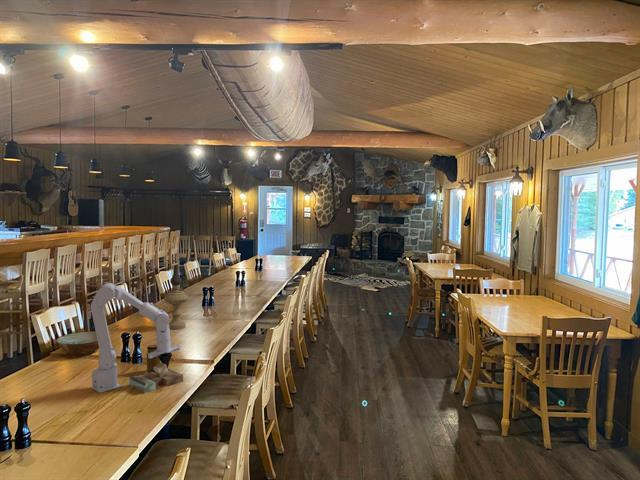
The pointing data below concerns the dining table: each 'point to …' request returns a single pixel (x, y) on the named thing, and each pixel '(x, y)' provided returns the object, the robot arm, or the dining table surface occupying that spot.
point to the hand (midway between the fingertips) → (165, 369)
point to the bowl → (79, 343)
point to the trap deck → (155, 381)
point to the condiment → (152, 361)
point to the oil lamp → (176, 301)
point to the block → (161, 369)
